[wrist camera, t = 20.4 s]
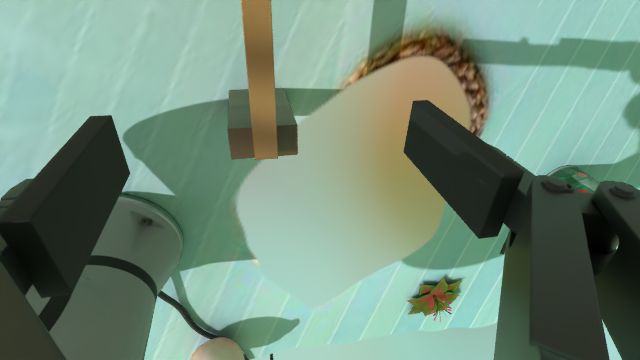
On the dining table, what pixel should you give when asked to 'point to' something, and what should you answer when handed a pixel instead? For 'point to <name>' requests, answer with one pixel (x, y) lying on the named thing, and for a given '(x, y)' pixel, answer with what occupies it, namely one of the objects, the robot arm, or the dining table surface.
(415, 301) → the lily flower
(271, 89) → the ladle
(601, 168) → the dining table surface
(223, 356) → the decorative fruit
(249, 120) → the dark upright slab
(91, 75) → the dining table surface
